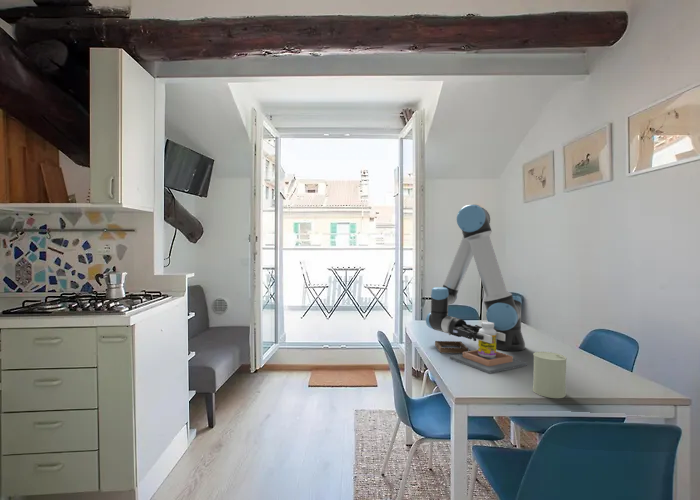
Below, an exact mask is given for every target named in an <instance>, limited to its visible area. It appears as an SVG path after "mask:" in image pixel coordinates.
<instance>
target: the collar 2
mask: <svg viewBox="0 0 700 500" xmlns="http://www.w3.org/2000/svg"><path fill="white" fill-rule="evenodd" d="M462 354H463V357H464V358H467V359H469V360H472V361H475V362H478V363H480V364H483V365H486V366H493V365H498V364H503V363H508V362H513V359H514V357H513V355H510V354H507V353H502V352H499V351H497V350H496V356H495V357H497V358H496V359H491V360H487V359H484V358H481V357H478V356H477V355H479V354H478V349H473V350H468V351H466V352H463V353H462Z"/></svg>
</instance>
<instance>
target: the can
mask: <svg viewBox="0 0 700 500" xmlns="http://www.w3.org/2000/svg"><path fill="white" fill-rule="evenodd" d="M566 375H567V357H566V356H565V355H564V354H560V353H556V352H552V351H536V352H534V353H533V382H532V385H533V386H532V391H533V392H534V393H535V394H536V395H539V396H541V397H545V398H549V399H550V398H551V399H564V398H565V397H566V395H567V393H566V379H567V377H566Z"/></svg>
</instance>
